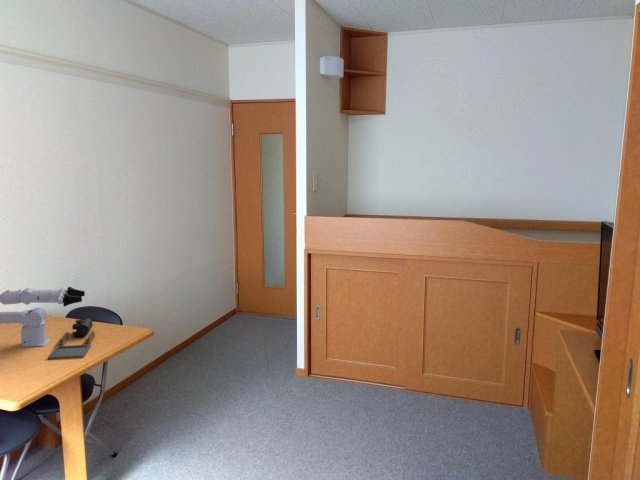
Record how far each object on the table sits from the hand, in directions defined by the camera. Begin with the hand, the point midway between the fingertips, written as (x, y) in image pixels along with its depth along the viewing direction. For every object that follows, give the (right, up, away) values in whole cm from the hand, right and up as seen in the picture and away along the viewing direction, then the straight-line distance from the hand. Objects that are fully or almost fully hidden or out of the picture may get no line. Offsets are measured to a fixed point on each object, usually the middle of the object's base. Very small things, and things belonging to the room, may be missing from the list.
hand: (83, 296), depth 228 cm
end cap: (-5, -20, +11) cm, 23 cm away
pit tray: (0, -23, -12) cm, 26 cm away
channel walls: (-3, -21, +1) cm, 21 cm away
